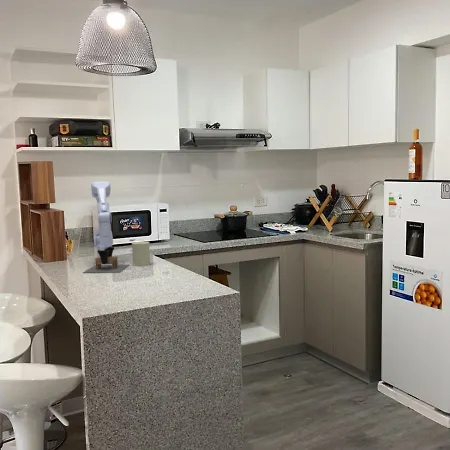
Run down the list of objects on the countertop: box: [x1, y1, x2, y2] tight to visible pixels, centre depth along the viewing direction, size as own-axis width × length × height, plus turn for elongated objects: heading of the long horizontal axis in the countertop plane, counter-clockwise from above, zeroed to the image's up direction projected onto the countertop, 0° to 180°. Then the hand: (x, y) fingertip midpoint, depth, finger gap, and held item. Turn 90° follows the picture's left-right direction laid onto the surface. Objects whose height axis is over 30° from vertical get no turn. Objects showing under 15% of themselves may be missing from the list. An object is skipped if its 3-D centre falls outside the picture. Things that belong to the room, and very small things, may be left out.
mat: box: [82, 264, 130, 274], centre depth 257 cm, size 20×18×1 cm
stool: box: [94, 255, 119, 269], centre depth 257 cm, size 10×5×6 cm, turn 87°
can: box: [131, 241, 151, 267], centre depth 268 cm, size 9×9×12 cm
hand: (106, 262), depth 257 cm, fingers open, 7 cm apart
